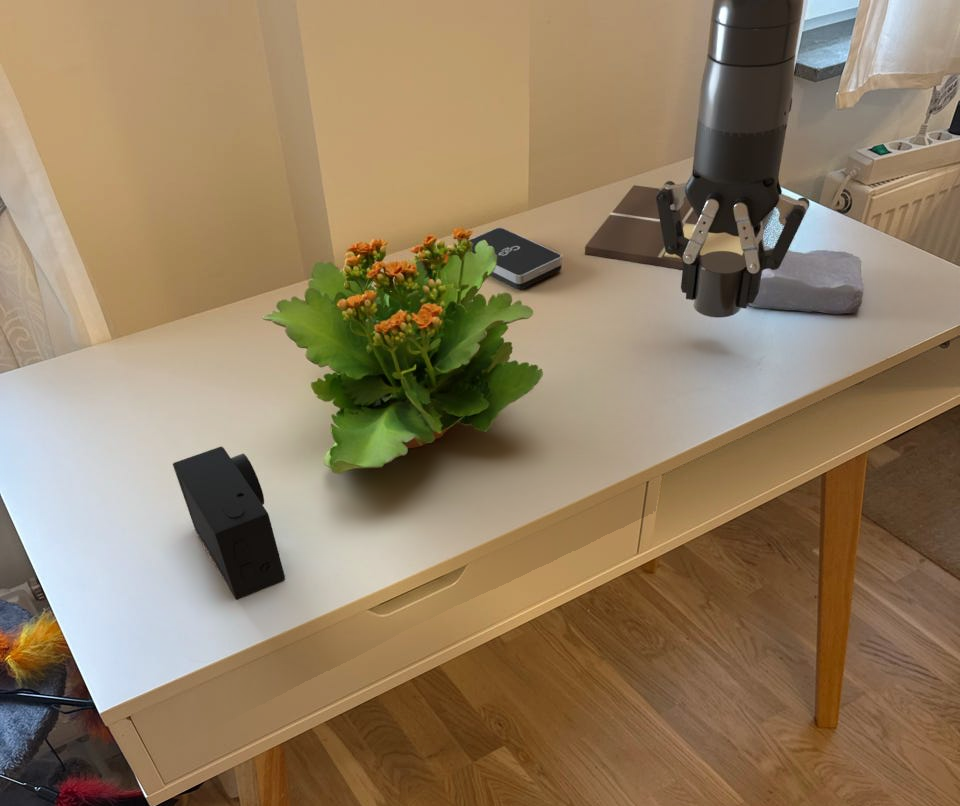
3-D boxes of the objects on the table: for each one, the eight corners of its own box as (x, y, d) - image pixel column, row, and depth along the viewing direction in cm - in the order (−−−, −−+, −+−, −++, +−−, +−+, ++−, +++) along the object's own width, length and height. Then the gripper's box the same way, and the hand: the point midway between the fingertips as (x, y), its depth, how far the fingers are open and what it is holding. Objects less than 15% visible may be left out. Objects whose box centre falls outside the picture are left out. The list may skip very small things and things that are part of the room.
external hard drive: (500, 242, 116) (499, 226, 115) (564, 273, 110) (565, 256, 109) (456, 262, 113) (455, 245, 112) (520, 294, 107) (519, 277, 106)
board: (773, 211, 118) (775, 202, 117) (736, 278, 107) (738, 268, 107) (633, 192, 124) (633, 183, 123) (584, 254, 113) (584, 244, 112)
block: (745, 283, 110) (742, 309, 102) (753, 238, 107) (752, 262, 99) (852, 295, 108) (858, 322, 100) (864, 250, 105) (872, 275, 97)
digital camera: (300, 575, 78) (283, 507, 73) (236, 600, 76) (215, 533, 71) (254, 506, 84) (235, 439, 79) (194, 528, 82) (171, 461, 77)
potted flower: (241, 398, 95) (194, 223, 83) (443, 323, 104) (429, 153, 91) (361, 533, 81) (327, 345, 68) (585, 432, 89) (593, 248, 76)
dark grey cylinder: (746, 298, 96) (753, 254, 92) (734, 321, 93) (741, 276, 89) (700, 291, 97) (705, 247, 94) (687, 313, 94) (692, 269, 91)
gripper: (648, 120, 82) (636, 307, 95) (820, 137, 77) (783, 331, 90) (674, 90, 87) (659, 272, 99) (837, 104, 82) (800, 293, 94)
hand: (718, 299), depth 94 cm, fingers closed on dark grey cylinder, 4 cm apart
